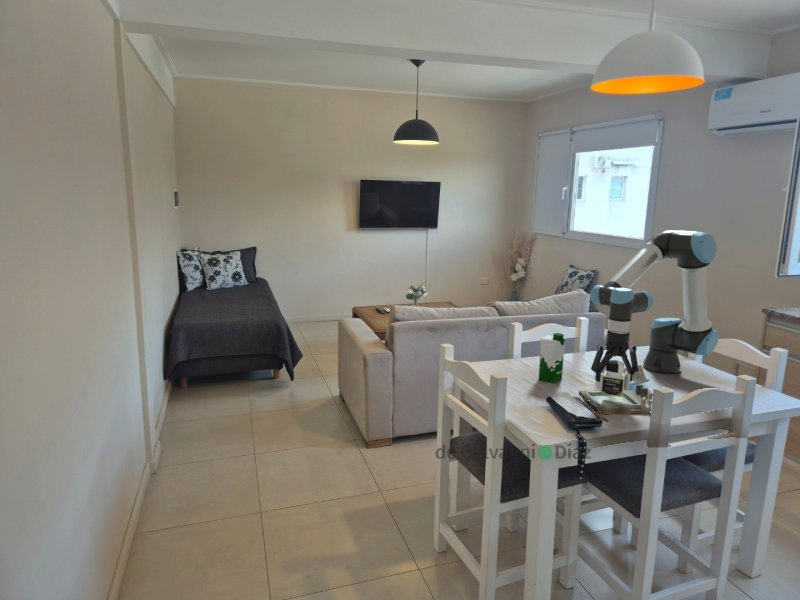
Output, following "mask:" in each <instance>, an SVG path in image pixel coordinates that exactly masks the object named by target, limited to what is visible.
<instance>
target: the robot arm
mask: <svg viewBox="0 0 800 600" xmlns="http://www.w3.org/2000/svg"><path fill="white" fill-rule="evenodd" d="M716 253H717V243H716V240H715V238H714V236H713V235H712V234H711V233H709V232H704V231H703V232H702V231H700V230H699V231H698V230H697V231H695V230H694V231H693V230H676V229H670V230H664V231H662V232H659V233H658V234H655V235H653V236H652V237H650V238H649V239H648V240H646V241H645V242H643V244H642V245H641V246H640V248H639V251H638V252H637V253H636V254H635V255H634V256H633V257H631V259H630V260H629V261H628V262H627V263H626V264H624V265H623V266H622V268H620V270H618V271H617V272H616V273H615V274H614V275H613V276H612V277H611V278H610V279H609V280H608V281H607V282H606V283H605V284H604V285H602V284H601V285H598V284H597V285H594V286H593V287H592V289H591V291H590V294H589V295H590V296H589V297H590V300H591V302H592V304H596V305H599V306H602V307H609V313H608V322H607V329H608V330H607V331H606V343H605V344H603V345H602V344H598V345H597V346H596V347H597V348H596V349H597V350H596V353H595V356H594V359H593V362H592V364H591V367H590V370H591V371H592V372H593V373H595V377H594V380H595V381H596V390H599V391H602V383H603V374H604V373H603V372H604V369H606V365H607V363H608V362H609V361H610V360H612V358H613V357H621V359H622V363H624V367H625V368H626V371H625V372H624V373H625V374H626V375H625V385H624V390H626V391H629V390H630V384H631V382H632V381H633V375H635V373H638V372H639V364H638V357H637V349H638V348H637V346H636V345H634V344H629V342H630V335H631V333H630V332H631V327H632V324H631V323H632V314H636V313H642V312H643V313H644V312H646V311H649V310H650V309H651V308H653V305H654V297H653V296H652V294H651V293H650V292H649V291H646V290H638V291H634V290H633V288H632V289H631V287H633V285H634V284H635V283H636V282H637V281H638V280H639V279H640V278H641V277H642V276H643V275H644V274H645V273H646V272H647V271H648V270H649V269H651V268H652V266H654V265H655V264H658V263H660V262H661V261H662V260H664V259H671V260H676V263H677V264H676V266H677V267H678V268H679V269H680V270H681V279H682V280H681V281H682V297H683V298H682V301H683V316H684V317H683V319H684V320H682V319H681V318H678V317H677V318H676V317H660V318H655V319H653V320H652V323H651V328H650V337H649V338H650V339H649V346H648V347H649V348H648V351H647V354H646V356H645V358H644V360H643V363H642V367H643V368H644V369H646V370H648V371H650V372H655V373H660V374H668V373H674V374H678V372H679V373H680V372H681V367H682V366H681V361H680V357H679V351H680V352H686V353H690V354H695V355H696V356H701V357H702V356H703V357H708V356H710V355H711V354H712V353H713V352H714V350H715V349H716V347H717V346H718V343H719V337H720V332H718V331H717V330H716V329H713V323H712V322H711V320H709V319H708V293H707V289H708V288H707V268H708V267H709V266H710V264H711V262H713V261H714V259H715V257H716ZM605 351H606V352H605ZM627 351H629V356H630V361H629V359H628V358H629V357H628V355H627ZM604 352H605V353H604ZM603 355H604V356H603ZM602 357H603V358H602Z"/></svg>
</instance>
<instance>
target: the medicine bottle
mask: <svg viewBox="0 0 800 600" xmlns="http://www.w3.org/2000/svg"><path fill="white" fill-rule="evenodd" d="M624 369H625V364H624V362H623V361H621V360H615V359H613V360H612V359H610V360H609V362H608V363H607V365H606V366H605V371H603V373H602V374H603V383H602V391H601V394H606V395H611V396H617V397H622V395H623V392H624V390H625V389H624V385H625V375H626V374H625V372H624Z"/></svg>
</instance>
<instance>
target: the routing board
mask: <svg viewBox="0 0 800 600" xmlns="http://www.w3.org/2000/svg"><path fill="white" fill-rule="evenodd" d="M653 393H654V392H652V391H651V390H650V389H649V388H648V387H644V384H636V385H635V389H629V391H626V390H625V389H624V392H623V395H622V397H617V396H611V395H606V394H601V391H599V390H598V389H596V390H589V389H588V390H579V391H578V394H579V396H581V397H582V398H583V399H584V400H585V399H586V400H590V401H591V402H592V403H593V404H594V405H595V407H596V409H597V410H598V411H597V410H596V409H595V410H596V411H597V412H598V413H599V414H600V415H605V414H606V415H625V414H626V415H627V414H629V415H634V414H635V415H637V414H638V415H639V414H646V415H648V414H650V411H651V404H652V396H653ZM586 400H585V401H586Z"/></svg>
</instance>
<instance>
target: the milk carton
mask: <svg viewBox="0 0 800 600" xmlns="http://www.w3.org/2000/svg"><path fill="white" fill-rule="evenodd" d="M566 340H567V338H566V337H565V336H564V334H563V333H561V332H555V333H553V334H552V335H549V334H548V335H546V336H544V337H541V338H540V353H539V365H538V366H539V367H538V368H539V370H538V380H539V381H542V382H546V383H550V384H556V383H558V382H560V381H562V380H563V369H564V356H565V347H566Z"/></svg>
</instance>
